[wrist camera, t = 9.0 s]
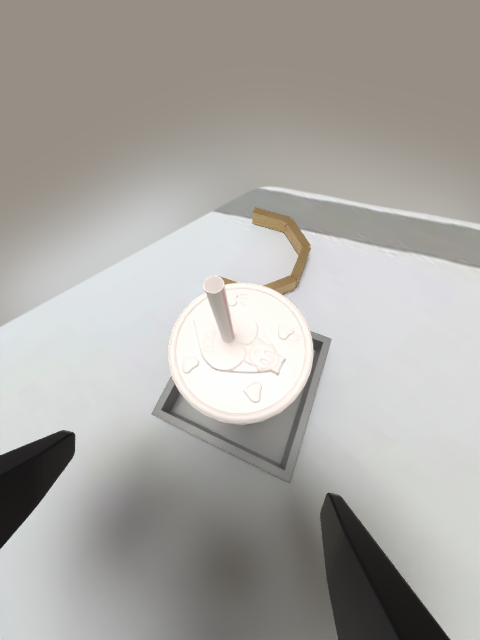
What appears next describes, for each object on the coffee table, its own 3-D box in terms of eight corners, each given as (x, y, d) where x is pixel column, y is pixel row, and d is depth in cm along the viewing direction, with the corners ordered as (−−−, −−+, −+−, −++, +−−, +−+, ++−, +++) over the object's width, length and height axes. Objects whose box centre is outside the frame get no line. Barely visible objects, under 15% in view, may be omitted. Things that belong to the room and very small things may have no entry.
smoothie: (231, 330, 21) (197, 180, 8) (298, 364, 19) (392, 249, 6) (190, 396, 19) (55, 340, 6) (262, 440, 17) (295, 499, 4)
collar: (285, 315, 22) (287, 308, 20) (217, 291, 23) (215, 282, 22) (315, 235, 25) (319, 224, 24) (255, 218, 27) (255, 207, 25)
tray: (283, 473, 17) (289, 483, 14) (165, 415, 19) (151, 414, 16) (321, 349, 20) (331, 338, 18) (217, 310, 22) (213, 296, 20)
